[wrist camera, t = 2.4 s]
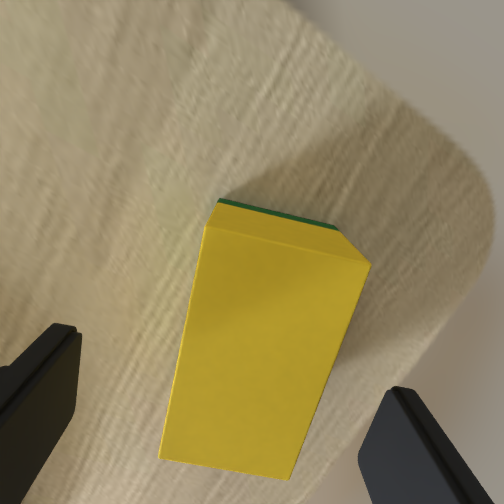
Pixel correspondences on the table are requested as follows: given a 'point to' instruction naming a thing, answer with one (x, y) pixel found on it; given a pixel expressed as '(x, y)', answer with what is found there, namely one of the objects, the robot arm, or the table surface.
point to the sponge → (259, 339)
